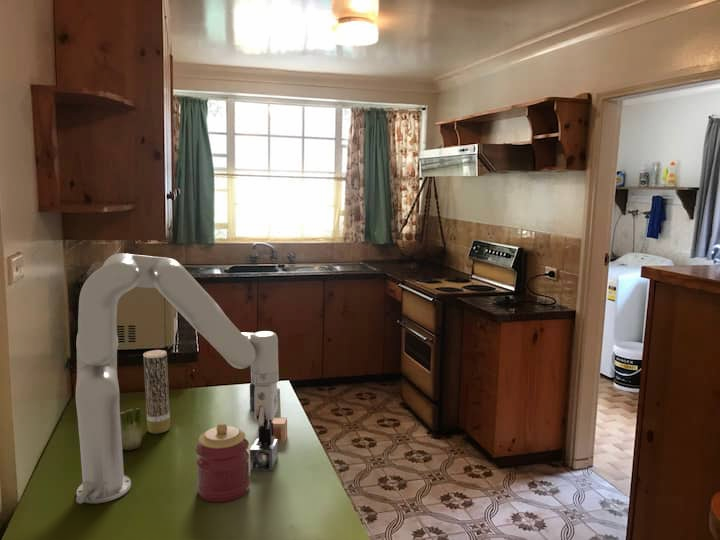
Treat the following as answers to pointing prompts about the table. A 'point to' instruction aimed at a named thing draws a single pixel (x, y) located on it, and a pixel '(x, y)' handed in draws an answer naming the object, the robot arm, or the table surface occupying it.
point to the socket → (280, 429)
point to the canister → (222, 464)
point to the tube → (263, 457)
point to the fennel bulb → (131, 429)
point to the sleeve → (256, 448)
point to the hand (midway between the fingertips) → (266, 438)
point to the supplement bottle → (252, 396)
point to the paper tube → (156, 391)
